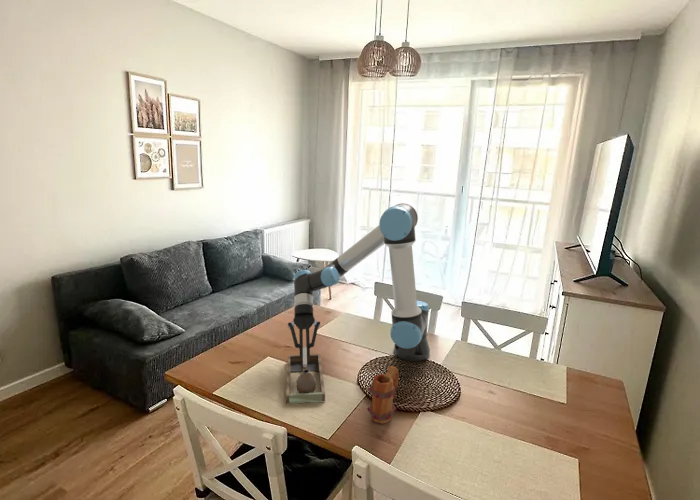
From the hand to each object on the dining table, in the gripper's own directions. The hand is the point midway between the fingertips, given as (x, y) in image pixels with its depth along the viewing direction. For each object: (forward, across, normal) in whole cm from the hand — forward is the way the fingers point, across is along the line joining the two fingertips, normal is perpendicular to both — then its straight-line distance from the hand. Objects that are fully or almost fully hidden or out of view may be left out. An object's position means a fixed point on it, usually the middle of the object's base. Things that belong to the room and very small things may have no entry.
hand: (304, 365), depth 148 cm
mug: (+21, -25, +14) cm, 36 cm away
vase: (+11, 0, +4) cm, 12 cm away
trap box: (+5, 0, -2) cm, 5 cm away
